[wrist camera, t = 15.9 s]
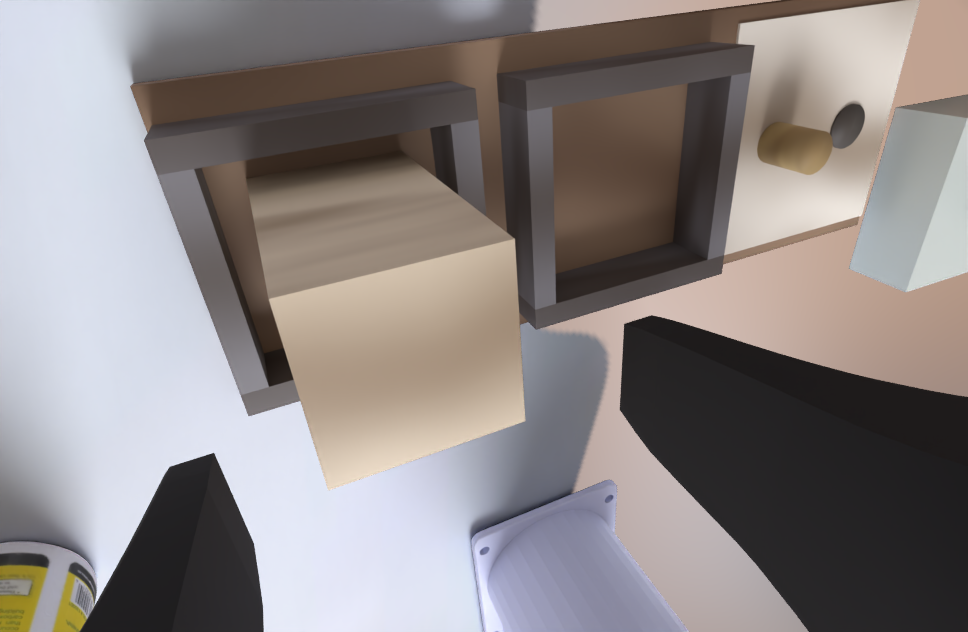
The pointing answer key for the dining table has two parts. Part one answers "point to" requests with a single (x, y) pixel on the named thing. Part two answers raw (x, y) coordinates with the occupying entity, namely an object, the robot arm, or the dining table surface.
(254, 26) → the dining table surface
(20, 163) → the dining table surface
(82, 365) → the dining table surface
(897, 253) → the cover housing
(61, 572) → the supplement bottle
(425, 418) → the maple peg
